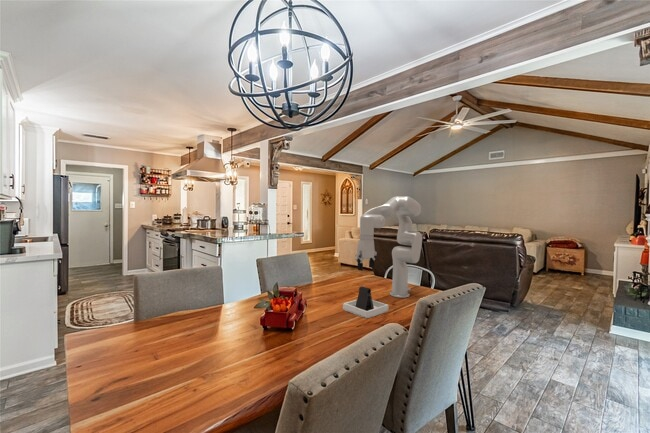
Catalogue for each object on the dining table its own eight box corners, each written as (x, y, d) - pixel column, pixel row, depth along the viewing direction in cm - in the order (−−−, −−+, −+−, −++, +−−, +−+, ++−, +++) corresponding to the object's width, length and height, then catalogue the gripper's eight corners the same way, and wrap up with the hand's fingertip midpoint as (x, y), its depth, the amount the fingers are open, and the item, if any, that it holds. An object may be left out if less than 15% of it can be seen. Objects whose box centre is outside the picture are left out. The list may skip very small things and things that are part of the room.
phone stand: (362, 312, 158) (363, 290, 158) (354, 309, 163) (355, 287, 162) (373, 309, 164) (374, 287, 164) (365, 306, 169) (366, 285, 168)
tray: (364, 303, 176) (364, 297, 176) (388, 311, 164) (388, 304, 164) (342, 309, 164) (343, 303, 164) (366, 318, 152) (367, 312, 152)
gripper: (371, 236, 173) (370, 265, 174) (350, 238, 161) (350, 269, 162) (381, 237, 167) (381, 267, 168) (361, 239, 156) (360, 272, 156)
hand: (365, 268), depth 165 cm, fingers open, 9 cm apart
